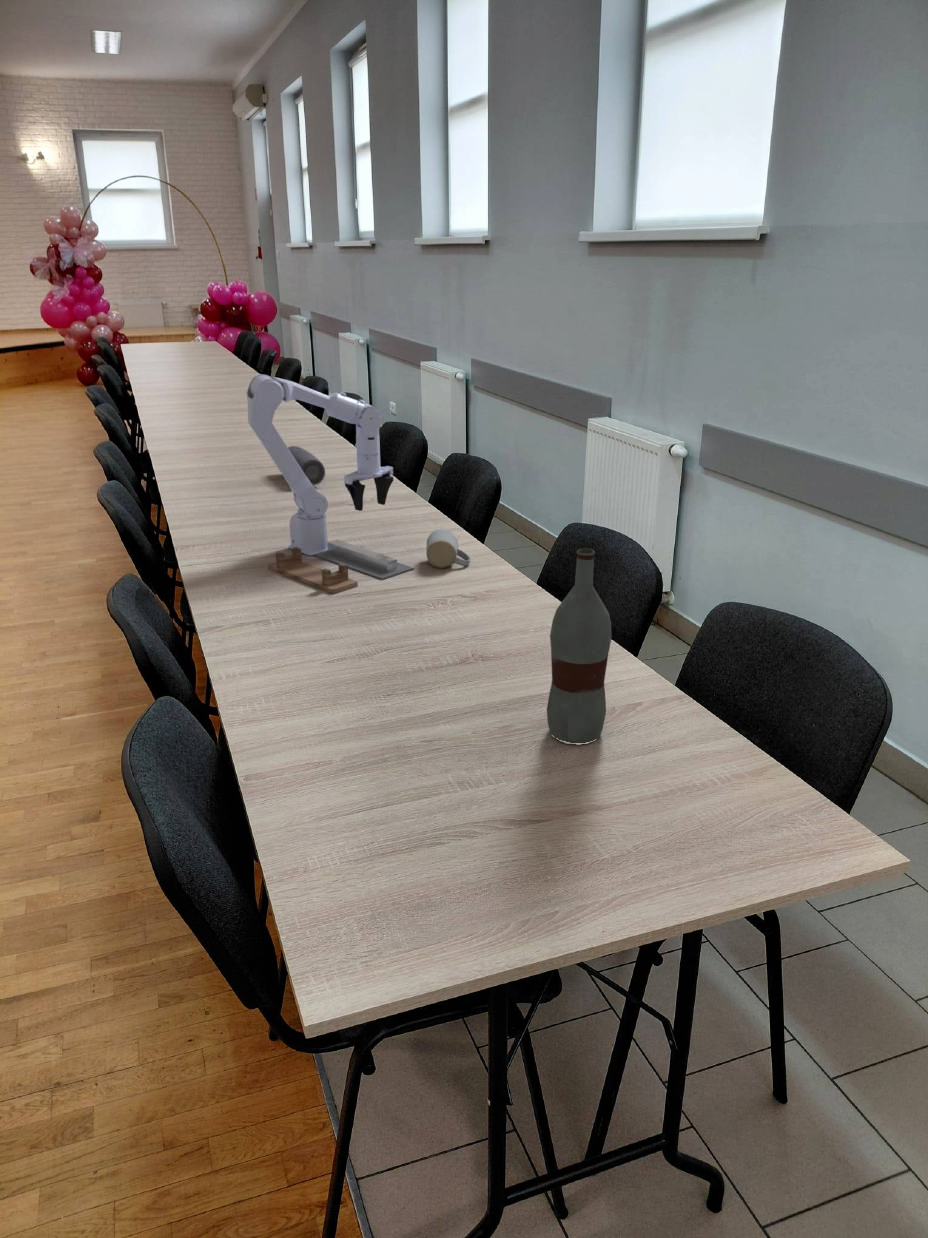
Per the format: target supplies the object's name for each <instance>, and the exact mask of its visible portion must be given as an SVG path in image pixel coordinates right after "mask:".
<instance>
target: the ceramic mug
mask: <svg viewBox="0 0 928 1238" xmlns="http://www.w3.org/2000/svg"><path fill="white" fill-rule="evenodd" d="M427 537H428V538H426V539H427V540H426V549H425V550H426V552H425V553H426V558H427V560H428V562H429V563H430V564H431V565H432V566H433V567H435V568H437V569H445V568H446V569H447V568H449V567H450V566H452V565H453V563H454V564H456V565H459V566H463V567H467V566H469V564H470V562H471V560H472V559H471V557H470V556H469V555H468V553H466V552H464V551H463V550H462V549H460V548H459V542H458V538H457V537H456V535H455V534H454V533H453V532H452V531H450V530H449V529H445V528H444V529H442V528H441V529H436V530H434V531H432V532H431V533H430V534H429V536H427Z"/></svg>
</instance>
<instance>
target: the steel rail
mask: <svg viewBox="0 0 928 1238" xmlns="http://www.w3.org/2000/svg"><path fill="white" fill-rule="evenodd" d="M327 547H328V552H330V553H332V554H335V555H338V556H341V557H344V558H347V559H350V560H353V561H356V562H359V563H362V564H364V565H367V566H370V567H373V568H376V569H379V570H382V571H385V572H391V571H394V570H397V562H398V559H397V558H394V557H390V556H388V555H384V554H382V553H379V552H375V551H373V550H370V549H367V548H364V547H361V546H358V545H354V544H351V543H349V542H345V541H342V540H339V539H333V540H329V541H328V542H327Z"/></svg>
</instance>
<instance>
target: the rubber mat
mask: <svg viewBox="0 0 928 1238" xmlns="http://www.w3.org/2000/svg"><path fill="white" fill-rule="evenodd" d="M312 556H314V557H316V558H319V559H322V560H325V561H328V562H331V563H334V564H337V565H338V564H341V563H343V564H346V565H348V569H351V570H353V571H356V572H358V573H359V572H360V573H362V574H364V575H368V576H371V577H373V578H376V579H378V580H382V581H383V580H386V579H389V578H392V577H395V576H399V575H402V574H405V573H407V572H411V571H413V570H415V568H414V567H412V566H409V565H406V564H404V563H400V562H398V561H397V570H394V571H391V572H385V571H382V570H379V569H376V568H373V567H370V566H367V565H364V564H362V563H359V562H356V561H353V560H350V559H347V558H344V557H341V556H338V555H335V554H332V553H330V552H328V550H327V551H324V552H320V553H317V554H314V555H312Z"/></svg>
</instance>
